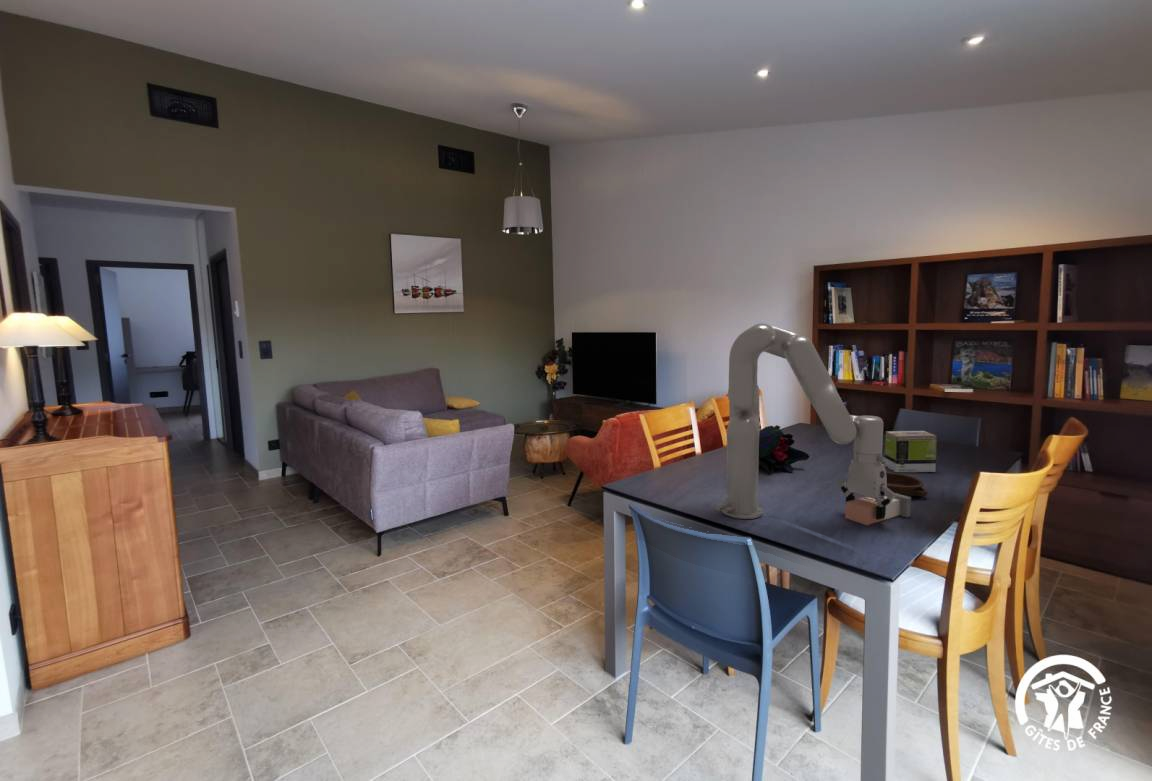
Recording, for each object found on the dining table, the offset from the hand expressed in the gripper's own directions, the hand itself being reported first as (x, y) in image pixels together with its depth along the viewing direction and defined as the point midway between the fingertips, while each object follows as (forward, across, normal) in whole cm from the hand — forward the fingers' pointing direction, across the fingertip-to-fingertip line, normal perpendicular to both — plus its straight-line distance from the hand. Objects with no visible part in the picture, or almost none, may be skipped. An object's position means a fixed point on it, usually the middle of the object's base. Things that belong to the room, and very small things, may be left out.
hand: (864, 513), depth 170 cm
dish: (+3, +13, -34) cm, 37 cm away
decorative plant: (+3, +54, -23) cm, 59 cm away
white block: (+3, 0, -10) cm, 11 cm away
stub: (+2, 0, 0) cm, 2 cm away
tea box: (+3, +26, -66) cm, 71 cm away
